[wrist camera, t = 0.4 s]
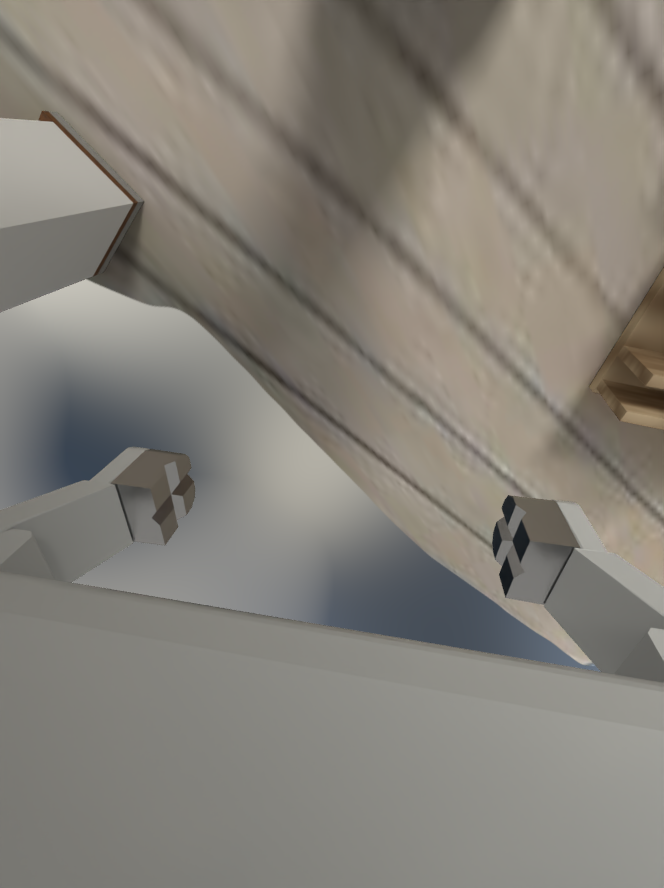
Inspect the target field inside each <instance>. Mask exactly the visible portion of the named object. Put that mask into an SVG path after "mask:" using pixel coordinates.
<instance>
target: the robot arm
mask: <svg viewBox="0 0 664 888" xmlns="http://www.w3.org/2000/svg"><path fill="white" fill-rule="evenodd" d="M190 469H191V464H190V459H189V457H188V456H187V455H185V454H181V453H174V452H168V451H161V450H154V449H147V448H139V447H129V448H127V449H126V450H125V451H123V452H122V453H121V454H120V455H119V456H118V457H116V458H115V459H114V460H113V461H112V462H111V463H109V464H108V465H107V466H106V467H105V468H104V469H103V470H101V471H100V472H99V473H98V474H97V475H96V476H94V477H93V478H92V479H91V480H90V481H85V480H83V481H80V482H77V483H74V484H72V485H69V486H66V487H63V488H61V489H58V490H55V491H52V492H50V493H47V494H44V495H41V496H38V497H36V498H33V499H30V500H27V501H25V502H22V503H19V504H17V505H13V506H11V507H8V508H5V509H2V510H0V888H664V587H663V586H662V585H660V584H659V583H657V582H656V581H654V580H653V579H652V578H650V577H649V576H647V575H646V574H644V573H643V572H641V571H640V570H639V569H637V568H636V567H634V566H633V565H631V564H630V563H628V562H627V561H626V560H624V559H623V558H621V557H620V556H618V555H617V554H616V553H609V552H608V551H607V550H606V548H605V546H604V545H603V543H602V542H601V540H600V538H599V537H598V535H597V533H596V532H595V530H594V528H593V527H592V525H591V523H590V522H589V520H588V519H587V517H586V515H585V514H584V512H583V510H582V509H581V507H580V506H579V505H578V504H577V503H575V502H569V501H559V500H544V499H536V498H527V497H519V496H510V495H508V496H507V498H506V499H505V500H504V503H503V506H502V511H503V514H504V517H503V518H502V519H500V520H499V521H497V522H496V526H495V529H494V532H493V541H492V545H493V553H494V557H495V560H496V561H497V562H498V563H499V564H500V565H501V566H502V568H501V571H500V573H499V576H500V580H501V583H502V587H503V591H504V594H505V598H509V599H515V600H521V601H526V602H532V603H537V604H543V605H544V607H545V608H546V610H547V611H548V612H549V613H550V614H551V615H552V616H553V618H554V619H555V620H556V621H557V622H558V623H559V624H560V626H561V627H562V628H563V629H564V630H565V631H566V632H567V634H568V635H569V636H570V637H571V638H572V639H573V640H574V642H575V643H576V644H577V645H578V646H579V647H580V648H581V650H582V651H583V652H584V653H585V654H586V655H587V656H588V658H589V659H590V660H591V661H592V662H593V663H594V664H595V666H596V667H597V668H598V669H599V670H600V671H601V672H598V671H592V670H585V669H580V668H574V667H568V666H562V665H556V664H550V663H544V662H538V661H533V660H527V659H521V658H515V657H509V656H503V655H497V654H491V653H485V652H479V651H473V650H467V649H462V648H456V647H450V646H444V645H438V644H432V643H426V642H420V641H414V640H408V639H402V638H396V637H391V636H385V635H379V634H373V633H367V632H361V631H355V630H349V629H344V628H338V627H332V626H326V625H320V624H313V623H308V622H302V621H296V620H290V619H284V618H278V617H272V616H266V615H260V614H255V613H249V612H243V611H236V610H230V609H225V608H219V607H213V606H207V605H201V604H195V603H189V602H183V601H177V600H172V599H165V598H159V597H153V596H148V595H142V594H136V593H130V592H124V591H118V590H112V589H106V588H100V587H95V586H89V585H83V584H76V583H72V582H73V581H75V580H76V579H78V578H79V577H81V576H83V575H84V574H86V573H87V572H89V571H90V570H92V569H93V568H95V567H97V566H98V565H100V564H101V563H103V562H104V561H106V560H108V559H109V558H111V557H112V556H114V555H115V554H117V553H119V552H120V551H122V550H123V549H125V548H126V547H128V546H129V545H131V544H133V542H141V543H149V544H157V545H166V543H167V542H168V540H169V539H170V538H171V536H172V535H173V534H174V532H175V531H176V529H177V528H178V524H177V520H178V519H180V518H182V517H184V516H186V515H187V514H188V512H189V510H190V509H191V508H192V504H193V501H194V498H195V485H194V481H193V480H192V479H191V478H190V476H189V475H188V474H187V473H188V472H189V471H190Z"/></svg>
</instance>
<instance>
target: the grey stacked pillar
mask: <svg viewBox="0 0 664 888" xmlns="http://www.w3.org/2000/svg"><path fill="white" fill-rule="evenodd" d="M143 202H144V201H143V200H142V198H141V197H140V196H139V195H138V194H137V193H136V192H135V191H134V190H133V189H132V188H131V187H130V186H129V185H128V184H127V183H126V182H125V181H124V180H123V179H122V178H121V177H120V176H119V175H118V174H117V173H116V172H115V171H114V170H113V169H112V168H111V167H110V166H109V165H108V164H107V163H106V162H105V161H104V160H103V159H102V158H101V157H100V156H99V155H98V154H97V153H96V151H95V150H94V149H93V148H92V147H91V146H90V145H89V144H88V143H87V142H86V141H85V140H84V139H83V138H82V137H81V136H80V135H79V134H78V133H77V132H76V131H75V130H74V129H73V128H72V127H71V126H70V125H69V124H68V123H67V122H66V121H65V120H64V119H63V118H62V117H61V116H60V115H59V114H58V113H57V112H48V111H42V112H41V115H40V118H39V121H35V120H21V119H7V118H0V312H2V311H5V310H8V309H10V308H13V307H15V306H18V305H20V304H23V303H25V302H28V301H31V300H33V299H36V298H38V297H41V296H43V295H46V294H48V293H51V292H54V291H56V290H59V289H61V288H64V287H67V286H69V285H72V284H74V283H77V282H79V281H82V280H85V279H87V278H90V277H92V276H95V275H97V274H100V273H103V272H104V270H105V269H106V267H107V265H108V263H109V262H110V260H111V258H112V256H113V255H114V253H115V251H116V249H117V248H118V246H119V244H120V242H121V241H122V239H123V237H124V235H125V234H126V232H127V230H128V228H129V227H130V225H131V223H132V221H133V220H134V218H135V216H136V214H137V213H138V211H139V209H140V207H141V206H142V204H143Z"/></svg>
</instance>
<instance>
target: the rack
mask: <svg viewBox="0 0 664 888" xmlns="http://www.w3.org/2000/svg"><path fill="white" fill-rule="evenodd" d="M589 387H590V388H591V390H592V391H593V393H598V394H601V396H602V397H603V398H604V400H605V401H606V402H607V404H608V405H609V407H610V408H611V409H612V411H613V412H614V413H615V415H616V416H617V418H618V419H619V420H620V421H622V422H627V423H632V424H637V425H642V426H647V427H652V428H656V429H661V430H664V268H663V269H662V271H661V273H660V274H659V276H658V277H657V279H656V280H655V282H654V284H653V285H652V287H651V288H650V290H649V292H648V293H647V295H646V296H645V298H644V300H643V301H642V303H641V304H640V306H639V308H638V309H637V311H636V312H635V314H634V316H633V317H632V319H631V320H630V322H629V324H628V325H627V327H626V328H625V330H624V332H623V333H622V335H621V336H620V338H619V340H618V341H617V343H616V344H615V346H614V348H613V349H612V351H611V352H610V354H609V356H608V357H607V359H606V360H605V362H604V364H603V365H602V367H601V368H600V370H599V371H598V373H597V375H596V376H595V378H594V379H593V381H592V383H591V384H590V386H589Z"/></svg>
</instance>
